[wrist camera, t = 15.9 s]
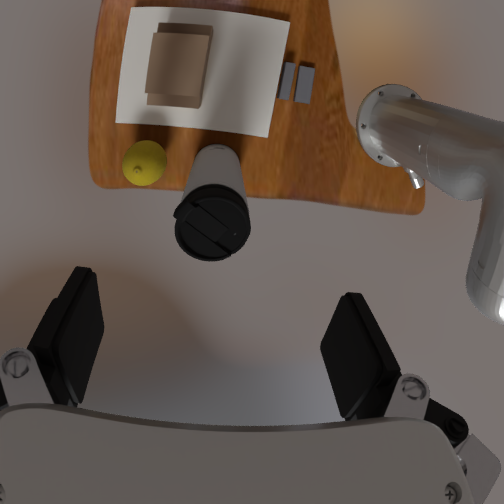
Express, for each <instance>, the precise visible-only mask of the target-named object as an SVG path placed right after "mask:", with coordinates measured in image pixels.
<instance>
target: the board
mask: <svg viewBox="0 0 504 504" xmlns="http://www.w3.org/2000/svg"><path fill="white" fill-rule="evenodd" d="M159 22H162V23H186V24H200V25H211V26H213V31H214V32H213V37H212V43H211V48H210V54H209V59H208V65H207V71H206V77H205V83H204V90H203V96H202V103H201V106H200V108H199V109H194V108H183V107H170V106H155V105H146V104H147V95H148V93H145V85H146V77H147V70H148V63H149V56H150V50H151V44H152V38H153V33H157V29H158V23H159ZM289 26H290V22H286V21H282V20H277V19H272V18H267V17H261V16H255V15H249V14H243V13H236V12H228V11H219V10H209V9H197V8H180V7H131V12H130V17H129V22H128V27H127V33H126V39H125V45H124V51H123V58H122V65H121V73H120V81H119V90H118V100H117V111H116V123H133V124H151V125H166V126H178V127H189V128H199V129H208V130H217V131H225V132H232V133H240V134H247V135H253V136H260V137H266V138H267V137H268V132H269V127H270V122H271V117H272V112H273V107H274V102H275V96H276V91H277V86H278V81H279V76H280V71H281V66H282V61H283V56H284V51H285V46H286V41H287V36H288V31H289Z"/></svg>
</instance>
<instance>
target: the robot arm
mask: <svg viewBox="0 0 504 504" xmlns="http://www.w3.org/2000/svg"><path fill="white" fill-rule="evenodd" d="M378 92H379V95H378ZM361 124H363V125H362V126H361ZM356 131H357V135H358V139H359V142H360V144H361V146H362V148H363V149H364V151H365V152H366V153H367V154H368V155H369V156H370V157H371V158H372V159H373V160H375V161H376V162H378V163H380V164H382V165H385V166H389V167H398V166H402V167H403V168H404V170H405V172H408V174H409V177H410V180H411V183H412V185H413V187H414V188H420V187H422V186H423V185H424V181H423V179H422V178H424V179H425V180H427V181H428V182H430V183H431V184H433V185H434V186H436V187H437V188H439V189H440V190H442V191H443V192H445V193H446V194H447V195H449V196H451V197H453V198H456V199H458V200H464V201H472V200H478V199H481V198H482V206H481V211H480V219H479V224H478V228H477V233H476V237H475V241H474V245H473V249H472V253H471V257H470V261H469V265H468V269H467V274H466V290H467V294H468V296H469V298H470V300H471V302H472V303H473V305H474V306H475V307H476V308H477V309H478V310H479V311H480V312H481V313H482V314H483V315H485V316H486V317H488V318H489V319H491V320H493V321H495V322H497V323H499V324H501V325H504V122H501V121H497V120H493V119H490V118H486V117H483V116H479V115H476V114H473V113H469V112H466V111H462V110H458V109H455V108H452V107H448V106H444V105H441V104H437V103H433V102H428V101H424V100H422V99H421V98H420V96H419V95H418V94H417V93H415V92H414V91H413V90H411V89H410V88H408V87H405V86H402V85H397V84H386V85H382V86H379V87H377V88H375V89H374V90H372V91H371V92H370V93H369V94H368V95H367V96H366V97H365V99H364V100H363V101H362V103H361V105H360V107H359V110H358V113H357V119H356ZM378 156H379V157H378ZM377 157H378V158H377ZM103 333H104V322H103V316H102V310H101V304H100V298H99V291H98V284H97V276H96V274H95V272H92V270H91V268H87V267H78V266H77V267H75V269H74V271H73V272H72V274H71V276H70V277H69V279H68V280H67V282H66V284H65V286H64V287H63V289H62V291H61V292H60V294H59V296H58V298H55V299H53V300H52V302H51V303H50V305H49V307H48V309H47V310H46V312H45V315H44V316H43V318H42V320H41V322H40V323H39V325H38V327H37V329H36V331H35V333H34V335H33V337H32V339H31V341H30V343H29V345H28V347H27V349H24V348H13V349H10V350H9V351H7V352H6V353H4V355H2V357H1V359H0V504H483V503H484V501H485V499H486V498H487V496H488V494H489V493H490V491H491V489H492V487H493V485H494V484H495V481H496V480H497V478H498V476H499V474H500V471H501V464H500V461H499V460H498V458H497V457H496V456H495V455H494V454H493V453H492V452H491V451H490V450H489V449H488V448H487V447H486V446H485V445H484V444H482V442H481V441H480V440H479V439H477V438H476V437H475V436H474V435H473V434H471V435H468V430H469V429H468V425H467V423H466V421H465V420H464V419H463V417H461V416H460V415H459V414H457V413H455V412H453V411H451V410H450V409H448V408H446V407H445V406H443V405H441V404H439V403H438V402H436V401H434V400H432V399H431V398H429V397H430V390H429V387H428V385H427V383H426V382H425V381H424V380H423V379H422V378H420V377H419V376H417V375H414V374H404V375H402V374H401V372H400V370H401V369H400V367H399V365H398V363H397V361H396V358H395V357H394V354H393V352H392V350H391V349H390V347H389V345H388V343H387V341H386V339H385V337H384V335H383V333H382V331H381V329H380V327H379V325H378V323H377V321H376V320H375V318H374V316H373V314H372V312H371V310H370V308H369V306H368V305H367V303H366V301H365V299H364V297H363V296H362V294H361V293H351V292H348V293H346V294H345V295H344V296H342V297H341V298H340V300H339V303H338V305H337V307H336V310H335V312H334V314H333V317H332V319H331V322H330V324H329V326H328V328H327V331H326V333H325V335H324V337H323V339H322V341H321V346H320V350H321V353H322V356H323V360H324V363H325V366H326V369H327V372H328V376H329V379H330V382H331V385H332V389H333V391H334V395H335V399H336V402H337V405H338V408H339V412H340V415H341V416H342V418H345V421H342V422H331V423H320V424H319V423H318V424H303V425H278V426H231V425H206V424H192V423H179V422H168V421H159V420H150V419H143V418H136V417H129V416H122V415H116V414H110V413H104V412H98V411H93V410H88V409H83V408H77V405H78V403H82V401H83V398H84V395H85V391H86V388H87V384H88V381H89V377H90V374H91V370H92V367H93V364H94V361H95V358H96V355H97V351H98V348H99V345H100V342H101V339H102V336H103Z"/></svg>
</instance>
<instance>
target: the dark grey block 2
mask: <svg viewBox="0 0 504 504" xmlns="http://www.w3.org/2000/svg"><path fill="white" fill-rule="evenodd" d="M314 72H315V68H310V67H304V66H299V67H298V74H297V80H296V87H295V94H294V100H293V101H295V102H301V103H307V104H310V97H311V91H312V85H313V78H314Z"/></svg>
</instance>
